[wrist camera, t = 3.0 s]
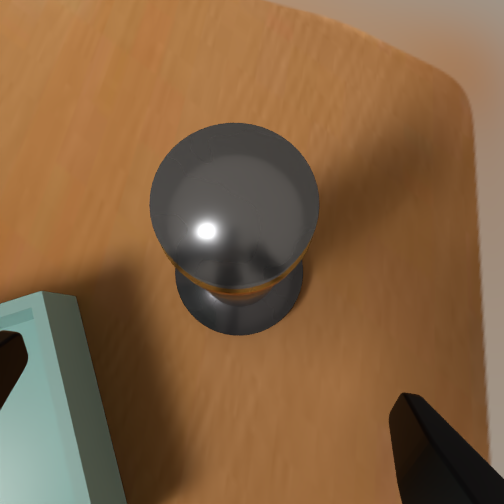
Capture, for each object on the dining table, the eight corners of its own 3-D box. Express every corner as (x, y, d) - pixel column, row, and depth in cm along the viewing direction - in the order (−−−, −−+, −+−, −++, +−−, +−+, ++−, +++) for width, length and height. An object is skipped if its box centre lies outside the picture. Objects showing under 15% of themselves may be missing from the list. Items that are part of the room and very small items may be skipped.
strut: (288, 294, 21) (349, 256, 9) (214, 319, 20) (174, 314, 8) (263, 223, 21) (289, 99, 9) (191, 246, 21) (125, 147, 9)
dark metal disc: (318, 311, 21) (321, 311, 20) (197, 352, 20) (196, 353, 20) (277, 196, 22) (278, 193, 22) (162, 232, 22) (160, 230, 21)
